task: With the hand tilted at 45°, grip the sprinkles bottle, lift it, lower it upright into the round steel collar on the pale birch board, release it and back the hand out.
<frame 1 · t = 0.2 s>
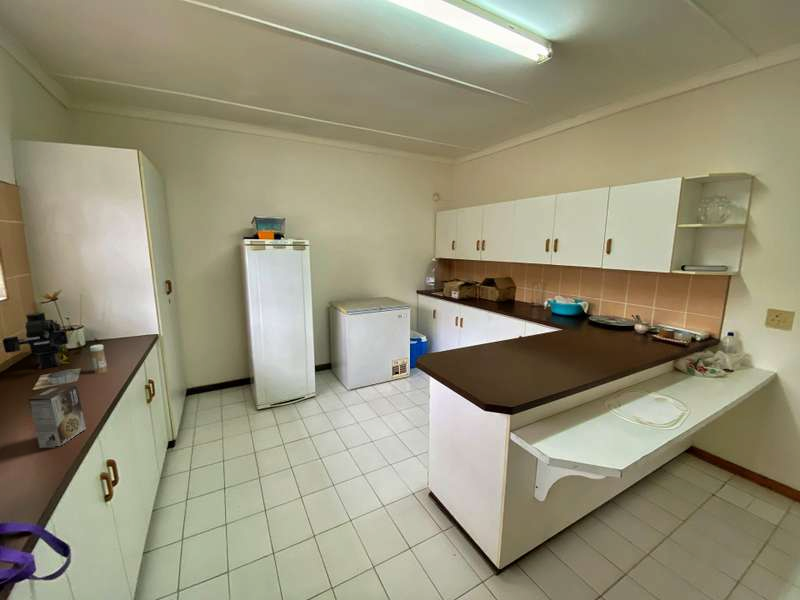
hand: (34, 346, 138), 17 cm above the countertop, tool horizontal, fingers open, 9 cm apart
coffee box: (63, 439, 103), on the countertop
birch board: (59, 380, 144), on the countertop
sprinkles bottle: (101, 373, 151), on the countertop
steel collar: (63, 379, 142), resting on birch board
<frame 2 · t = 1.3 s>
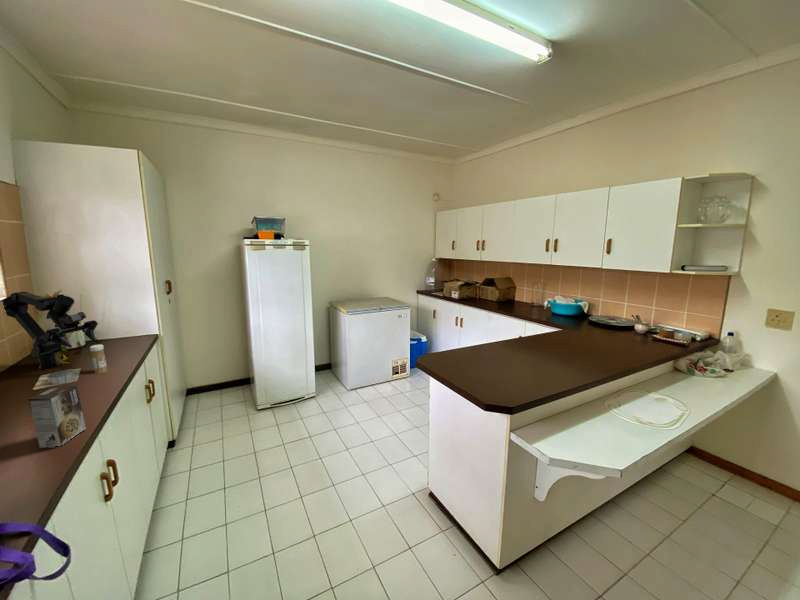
hand: (83, 343, 151), 14 cm above the countertop, tool tilted 45°, fingers open, 9 cm apart
nothing on the countertop moved.
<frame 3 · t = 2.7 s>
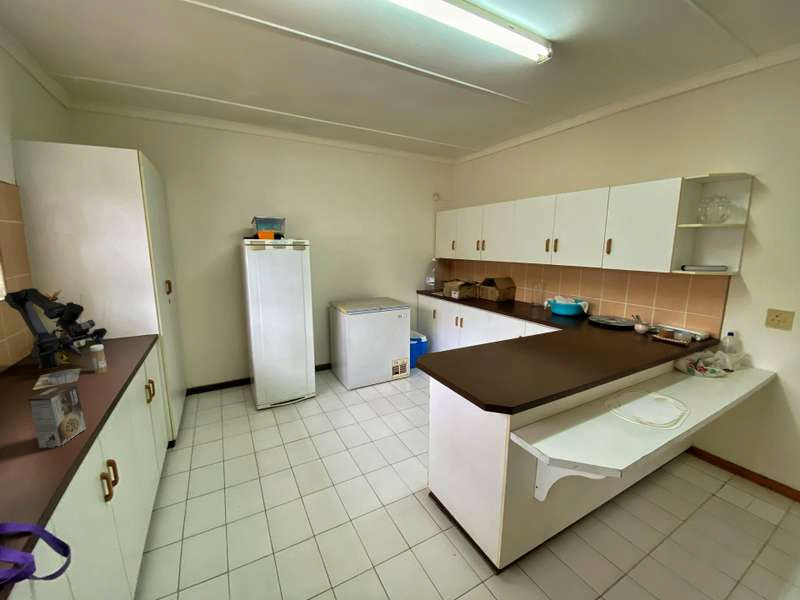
hand: (93, 351, 150), 10 cm above the countertop, tool tilted 45°, fingers open, 9 cm apart
nothing on the countertop moved.
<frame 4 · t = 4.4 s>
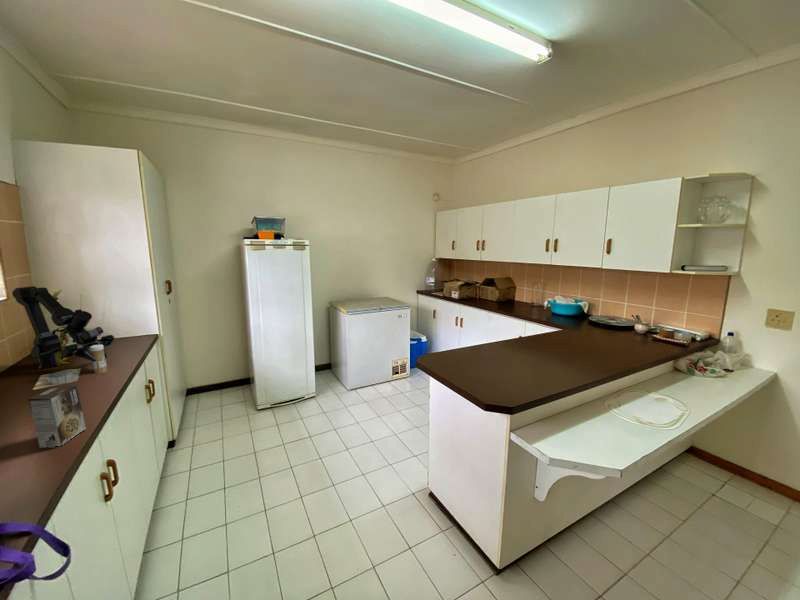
hand: (101, 359, 150), 7 cm above the countertop, tool tilted 45°, fingers closed on sprinkles bottle, 4 cm apart
sprinkles bottle: (101, 373, 151), on the countertop, touching gripper
everything else where it was.
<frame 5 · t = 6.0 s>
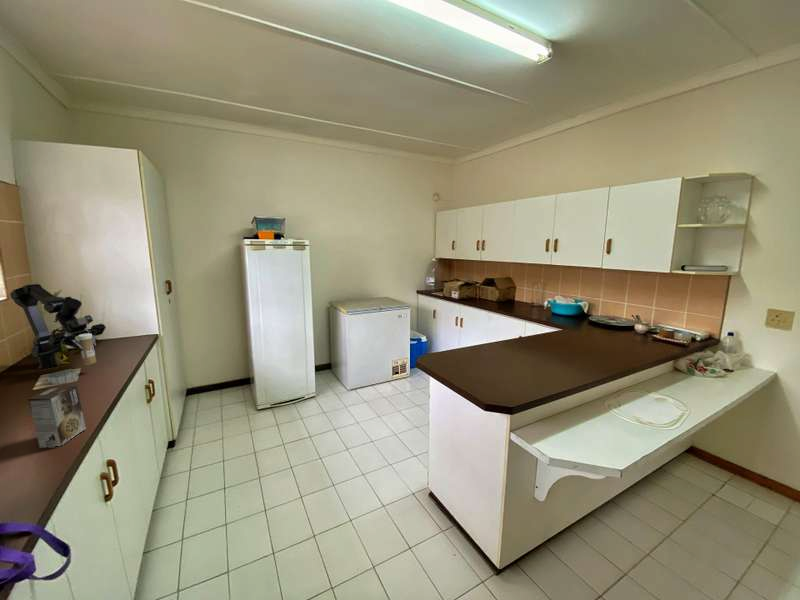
hand: (89, 348, 146), 13 cm above the countertop, tool tilted 45°, fingers closed on sprinkles bottle, 4 cm apart
sprinkles bottle: (89, 363, 148), point 6 cm above the countertop, touching gripper
everything else where it was.
when the fingers open (9 cm above the countertop, at t = 8.0 s): sprinkles bottle drops 1 cm, resting on birch board.
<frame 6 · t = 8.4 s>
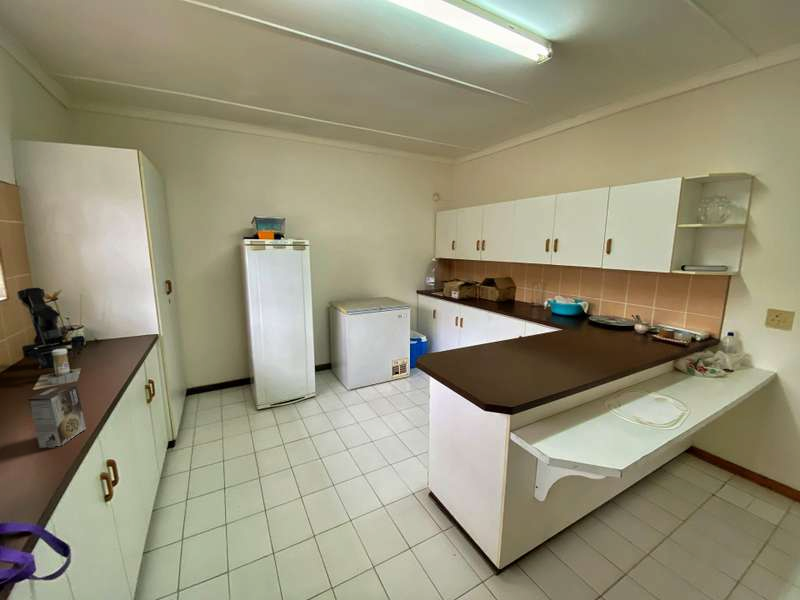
hand: (60, 362, 140), 10 cm above the countertop, tool tilted 45°, fingers open, 8 cm apart
sprinkles bottle: (63, 380, 142), point 1 cm above the countertop, touching birch board
everything else where it was.
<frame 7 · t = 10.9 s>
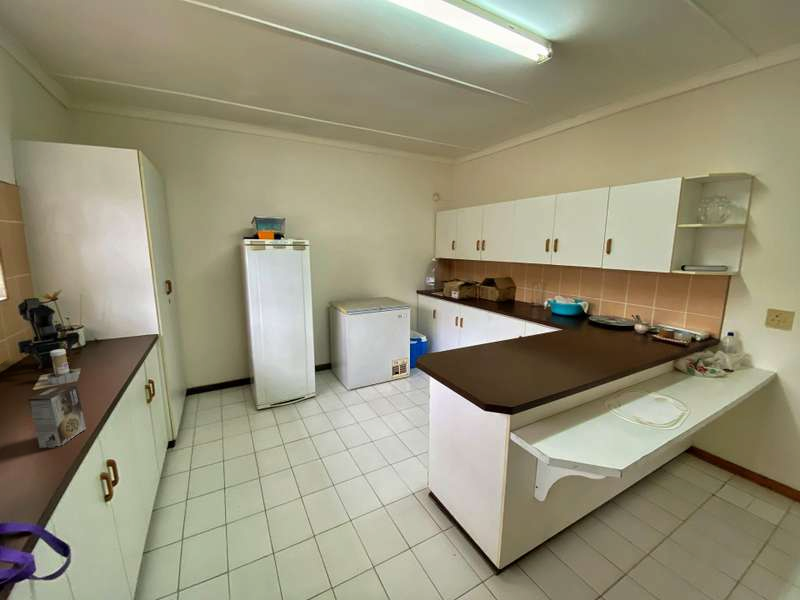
hand: (55, 357, 145), 10 cm above the countertop, tool tilted 45°, fingers open, 9 cm apart
nothing on the countertop moved.
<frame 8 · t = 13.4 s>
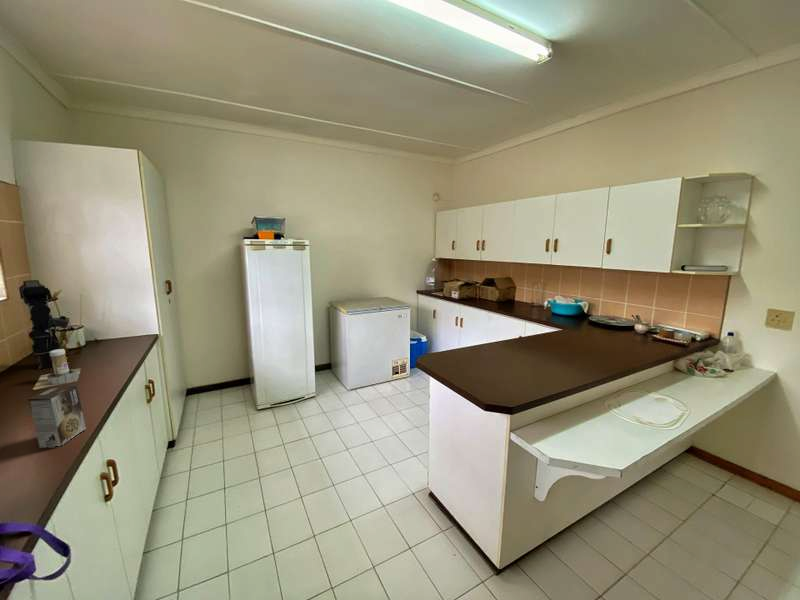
hand: (47, 347, 147), 13 cm above the countertop, tool pointing down, fingers open, 9 cm apart
nothing on the countertop moved.
at the end: sprinkles bottle 0.2 cm from the steel collar (horizontally); sprinkles bottle tilted 0°; the gripper is holding nothing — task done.
